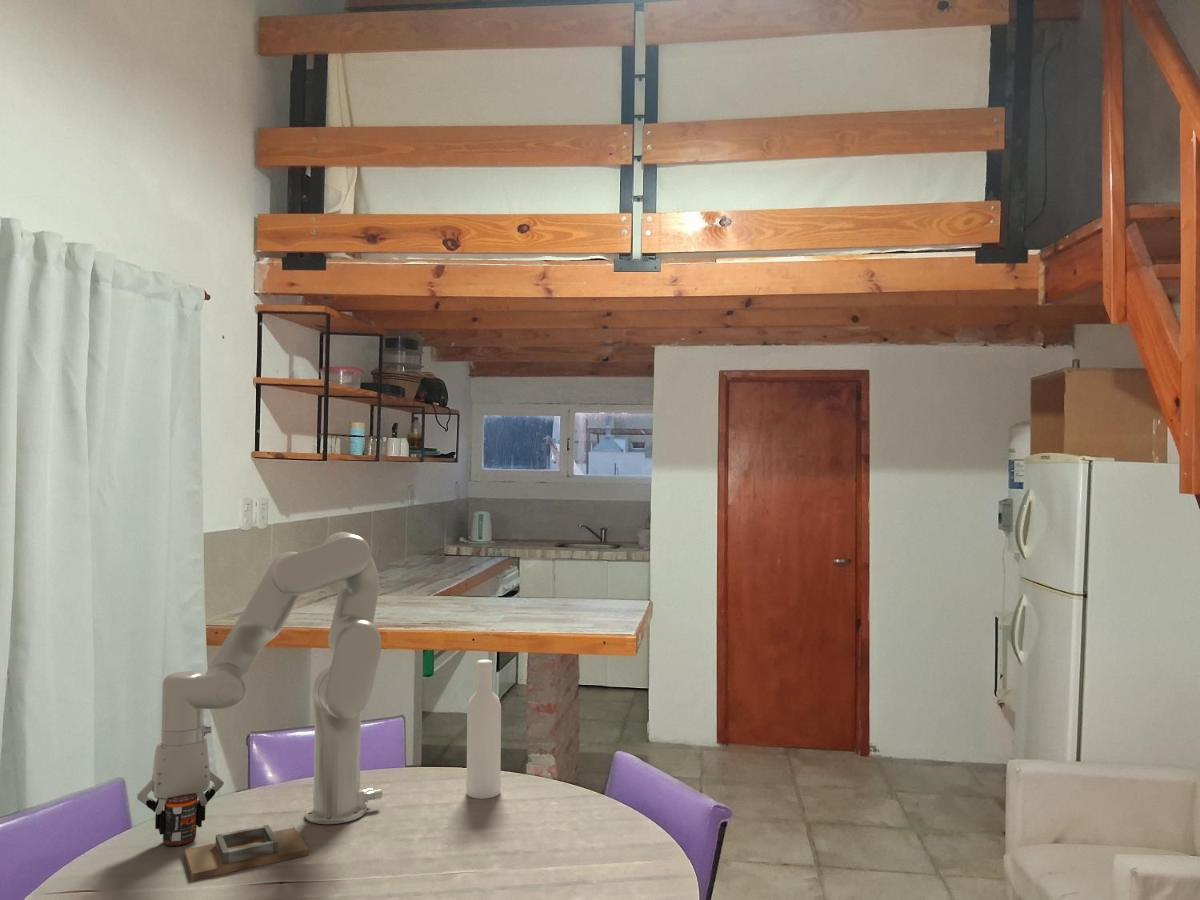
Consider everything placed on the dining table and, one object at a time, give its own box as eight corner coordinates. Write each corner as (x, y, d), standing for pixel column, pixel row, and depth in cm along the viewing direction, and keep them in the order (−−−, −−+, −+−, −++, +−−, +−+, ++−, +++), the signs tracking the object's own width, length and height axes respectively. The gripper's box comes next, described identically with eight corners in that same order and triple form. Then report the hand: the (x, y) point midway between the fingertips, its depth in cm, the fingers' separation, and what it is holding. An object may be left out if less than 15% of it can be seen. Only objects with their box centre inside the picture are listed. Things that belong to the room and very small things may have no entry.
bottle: (508, 793, 194) (508, 660, 196) (480, 802, 188) (482, 665, 190) (486, 784, 200) (487, 656, 201) (459, 793, 194) (460, 660, 195)
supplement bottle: (182, 848, 164) (184, 789, 164) (155, 845, 165) (157, 786, 165) (203, 836, 170) (204, 778, 170) (176, 833, 171) (178, 776, 171)
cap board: (294, 833, 171) (294, 817, 171) (308, 855, 161) (308, 837, 161) (184, 855, 160) (184, 838, 161) (192, 880, 150) (192, 862, 150)
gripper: (226, 725, 176) (224, 813, 175) (131, 738, 167) (129, 831, 166) (232, 734, 170) (230, 825, 169) (134, 747, 160) (131, 844, 160)
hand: (180, 827), depth 167 cm, fingers closed on supplement bottle, 6 cm apart
